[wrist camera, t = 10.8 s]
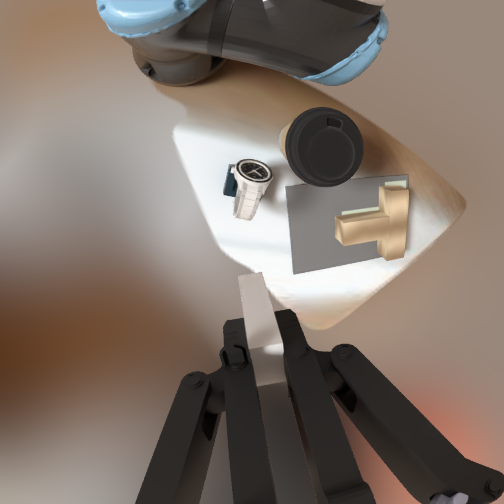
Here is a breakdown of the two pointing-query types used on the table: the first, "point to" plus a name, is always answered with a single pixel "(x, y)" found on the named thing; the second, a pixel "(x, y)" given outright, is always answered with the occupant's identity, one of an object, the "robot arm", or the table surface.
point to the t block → (378, 223)
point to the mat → (331, 221)
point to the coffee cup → (322, 147)
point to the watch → (247, 186)
